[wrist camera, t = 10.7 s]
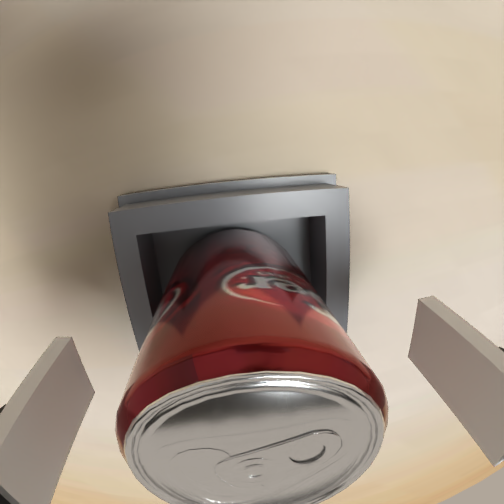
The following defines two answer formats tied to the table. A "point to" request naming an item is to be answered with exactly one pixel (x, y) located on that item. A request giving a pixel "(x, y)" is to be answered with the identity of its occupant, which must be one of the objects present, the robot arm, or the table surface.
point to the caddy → (226, 218)
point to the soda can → (247, 384)
